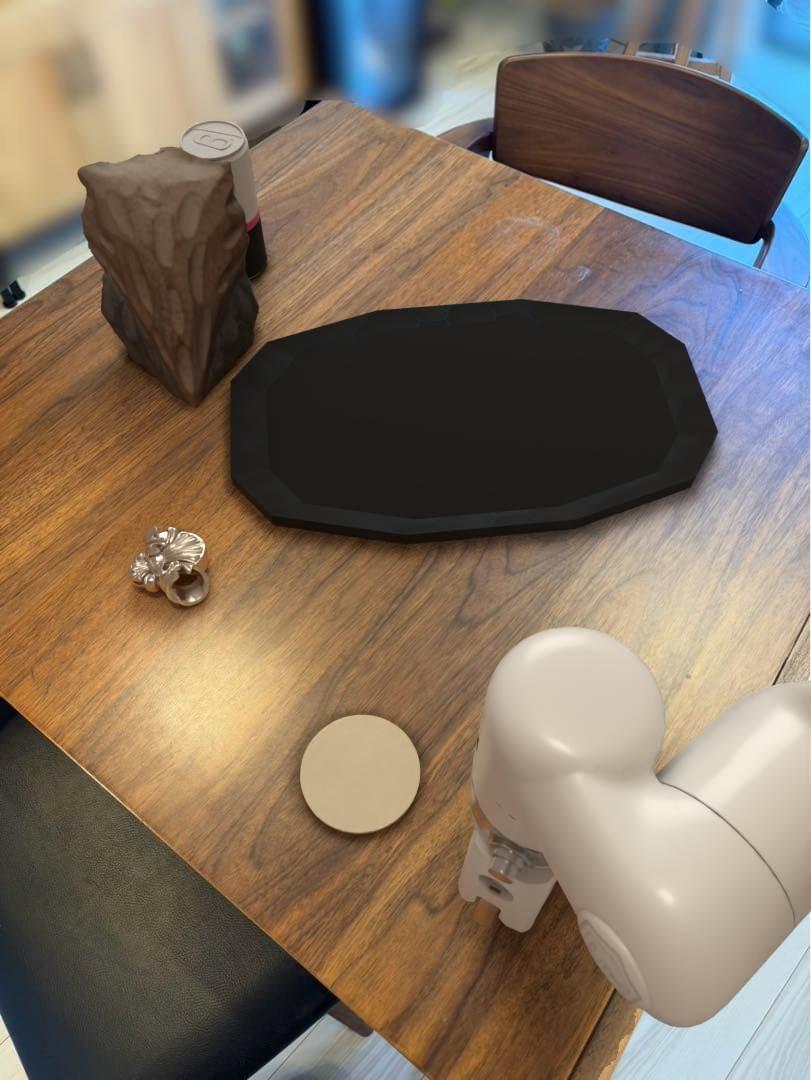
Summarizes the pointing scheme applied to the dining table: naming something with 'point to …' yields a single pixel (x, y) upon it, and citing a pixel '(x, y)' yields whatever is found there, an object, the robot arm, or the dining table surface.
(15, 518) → the dining table surface
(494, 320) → the tray
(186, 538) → the ornament
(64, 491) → the dining table surface
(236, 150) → the beverage can
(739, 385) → the dining table surface
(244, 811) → the dining table surface
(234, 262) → the brown rock
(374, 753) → the coaster
